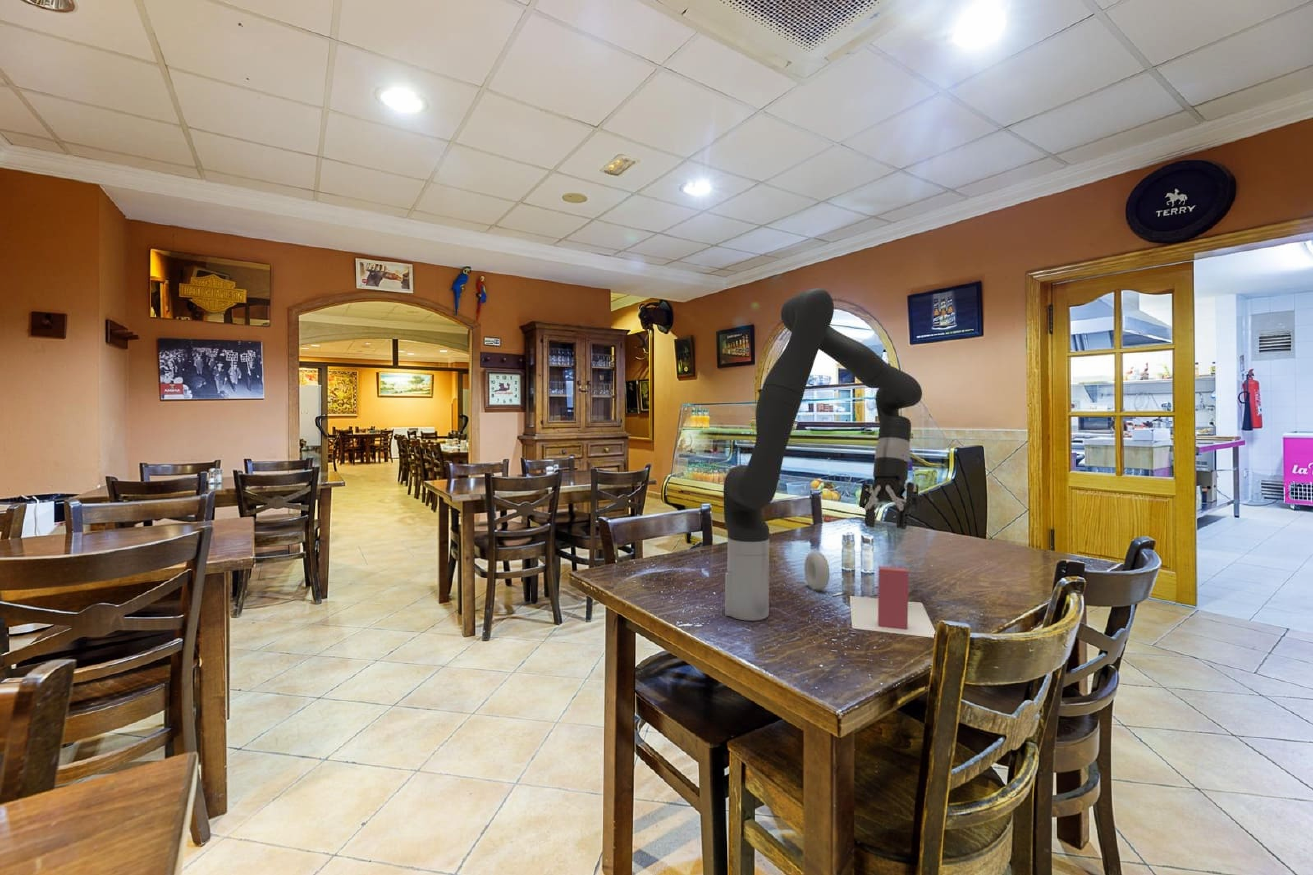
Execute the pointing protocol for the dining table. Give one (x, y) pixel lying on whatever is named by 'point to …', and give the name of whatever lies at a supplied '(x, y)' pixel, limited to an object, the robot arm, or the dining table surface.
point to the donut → (816, 571)
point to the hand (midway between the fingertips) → (884, 527)
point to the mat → (867, 619)
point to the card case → (893, 597)
